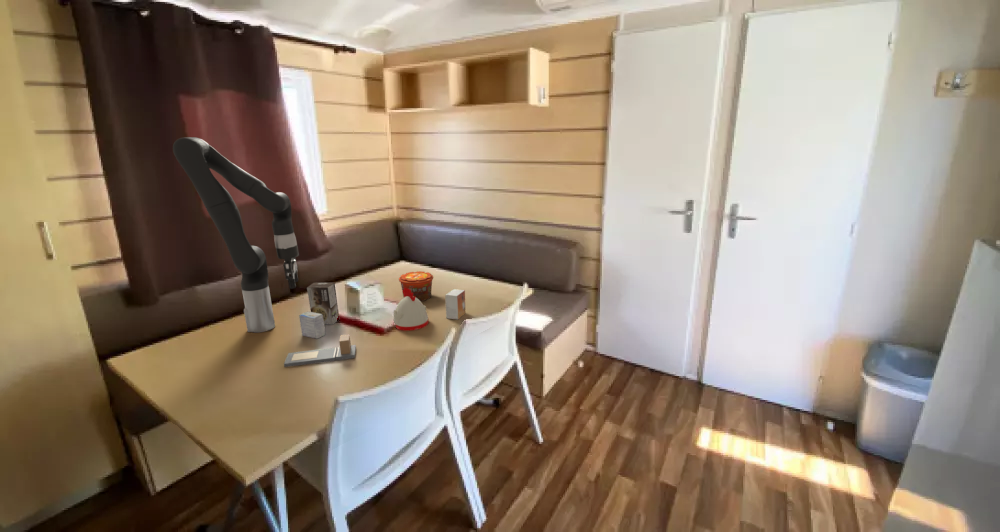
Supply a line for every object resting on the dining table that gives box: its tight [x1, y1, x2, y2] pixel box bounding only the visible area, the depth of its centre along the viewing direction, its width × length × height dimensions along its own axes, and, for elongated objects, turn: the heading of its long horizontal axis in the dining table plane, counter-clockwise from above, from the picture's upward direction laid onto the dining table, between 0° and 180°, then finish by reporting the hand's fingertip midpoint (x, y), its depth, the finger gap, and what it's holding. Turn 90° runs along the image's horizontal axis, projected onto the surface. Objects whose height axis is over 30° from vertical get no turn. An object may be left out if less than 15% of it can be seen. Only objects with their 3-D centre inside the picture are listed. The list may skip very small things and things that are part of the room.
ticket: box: [283, 346, 338, 368], centre depth 151 cm, size 16×8×1 cm, turn 105°
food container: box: [398, 270, 434, 302], centre depth 207 cm, size 16×16×11 cm
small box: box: [444, 288, 466, 320], centre depth 185 cm, size 8×6×10 cm
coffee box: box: [306, 282, 340, 325], centre depth 180 cm, size 9×6×16 cm
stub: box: [335, 334, 357, 361], centre depth 153 cm, size 6×8×6 cm
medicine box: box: [298, 311, 326, 340], centre depth 168 cm, size 8×4×9 cm, turn 65°
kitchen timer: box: [393, 288, 429, 331], centre depth 177 cm, size 14×14×15 cm
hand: (294, 284), depth 173 cm, fingers open, 8 cm apart
